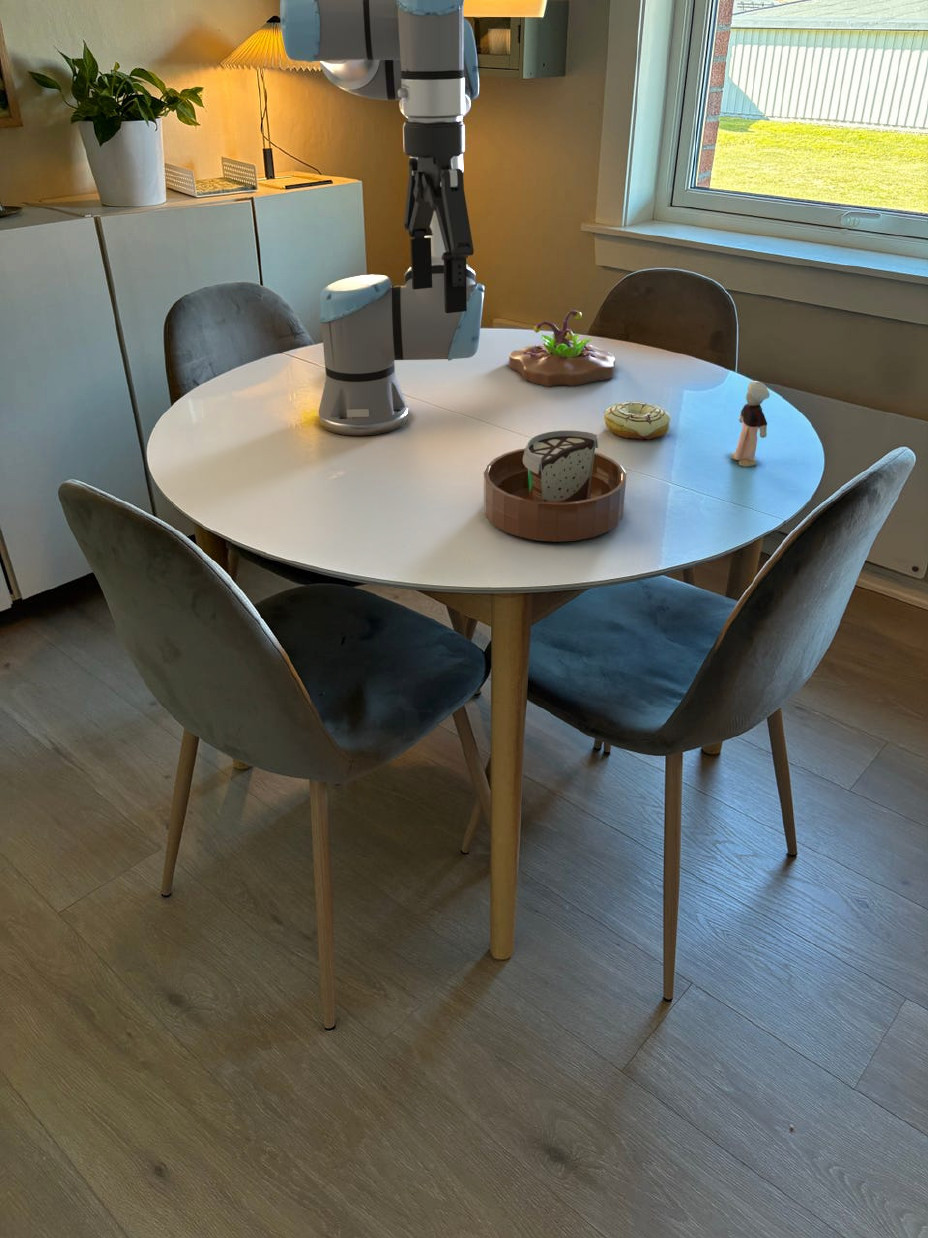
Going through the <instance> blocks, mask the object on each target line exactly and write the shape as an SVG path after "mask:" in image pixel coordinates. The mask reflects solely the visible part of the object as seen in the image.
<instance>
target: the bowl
mask: <svg viewBox="0 0 928 1238" xmlns="http://www.w3.org/2000/svg"><path fill="white" fill-rule="evenodd" d="M524 451H525V448H519V449H516V450H512V451H509V452H505V453H502V454H501V455H499V456H497V457H495V458H493V459H492V460H490V462H489V463H488V464H487V465H486V466H485V469H484V472H483V510H484V515H485V517H486V519H488V521H489V522H490V523H491V524H492V525H493V526H495V527H497V528H498V529H500V530H502V531H503V532H505V533H508V534H510V535H513V536H516V537H518V538H524V539H528V540H534V541H541V542H553V543H555V542H557V543H558V542H559V543H560V542H575V541H580V540H585V539H589V538H590V539H591V538H594V537H597V536H600V535H603V534H605V533H608V532H609V531H611V530H612V529H614V528H615V527H617V526H618V525H619V524H620V522H621V520H623V518H624V510H625V509H624V508H625V498H626V485H627V472H626V471H625V469H624V467H623V466H622V465H621V464H620V463H619V462H617V461H616V460H615V459H613V458H611V457H609V456H607V455H605V454H602V453H599V452H596V451H595V454H594V461H593V468H592V476H591V483H590V491H589V498H588V499H587V500H582V501H576V502H543V501H535V500H530V494H529V478H528V468H527V467H525V465H524V464H523V455H524Z"/></svg>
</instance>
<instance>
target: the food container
mask: <svg viewBox="0 0 928 1238" xmlns="http://www.w3.org/2000/svg"><path fill="white" fill-rule="evenodd" d="M597 436H598V435H597V434H595V433H592V432H588V431H582V430H553V431H548V432H547V431H546V432H543V433H540V434H538V435H535V436H534V437H532V438H531V439H529V441H528V442H527V445H526V446H525V448H524V449H525V451H524V455H523V464H524V465H525V467H527V468H528V478H529V494H530V500H535V501H543V502H576V501H582V500H587V499H588V498H589V491H590V483H591V476H592V468H593V461H594V454H595V452H596V449H598V448H599V440H598V437H597Z"/></svg>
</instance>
